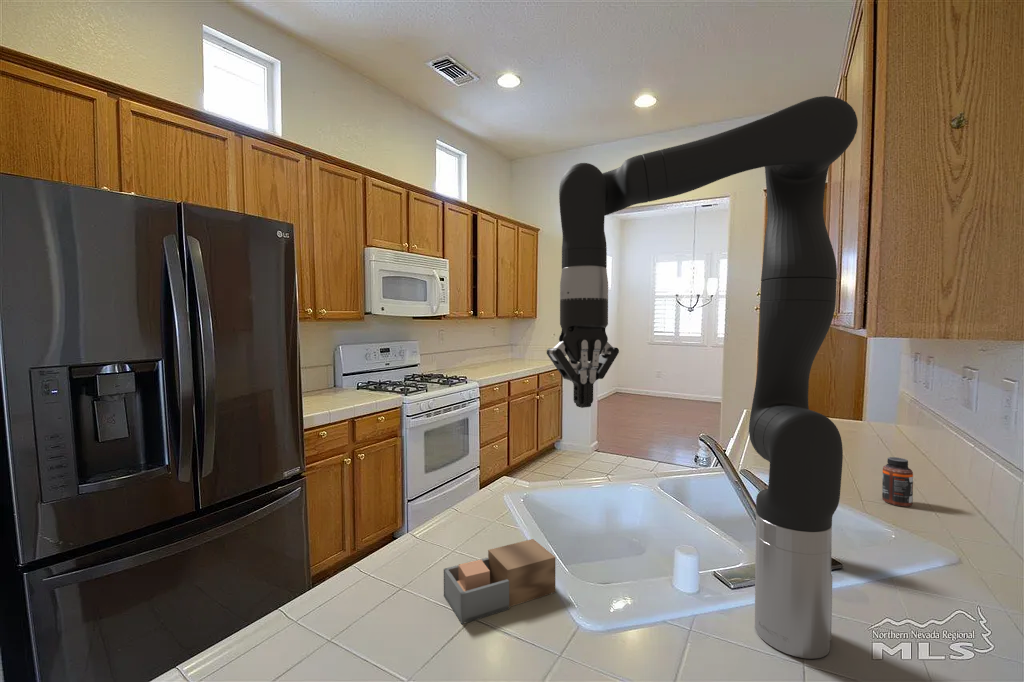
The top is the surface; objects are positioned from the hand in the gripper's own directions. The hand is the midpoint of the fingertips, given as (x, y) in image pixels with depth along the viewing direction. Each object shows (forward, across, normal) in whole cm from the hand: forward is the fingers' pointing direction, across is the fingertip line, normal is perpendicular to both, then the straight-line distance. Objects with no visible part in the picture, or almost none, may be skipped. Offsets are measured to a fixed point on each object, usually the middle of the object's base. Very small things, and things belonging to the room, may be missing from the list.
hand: (583, 406), depth 72 cm
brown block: (+32, -6, +9) cm, 34 cm away
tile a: (+29, -15, +9) cm, 34 cm away
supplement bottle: (+32, +97, -2) cm, 102 cm away
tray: (+32, -15, +9) cm, 36 cm away
